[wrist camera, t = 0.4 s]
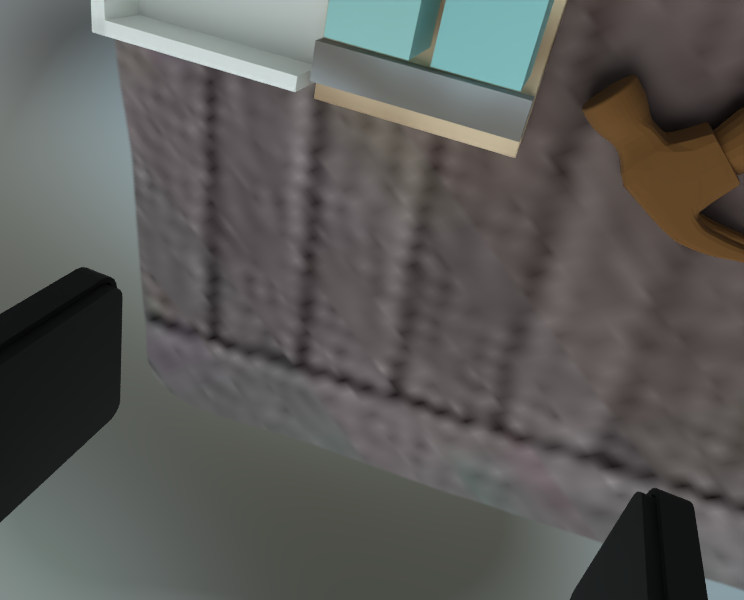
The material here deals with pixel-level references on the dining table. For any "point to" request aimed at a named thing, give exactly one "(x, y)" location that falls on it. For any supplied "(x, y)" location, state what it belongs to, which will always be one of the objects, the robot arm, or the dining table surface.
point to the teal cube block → (491, 39)
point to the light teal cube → (383, 25)
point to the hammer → (673, 166)
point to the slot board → (431, 90)
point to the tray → (223, 33)
